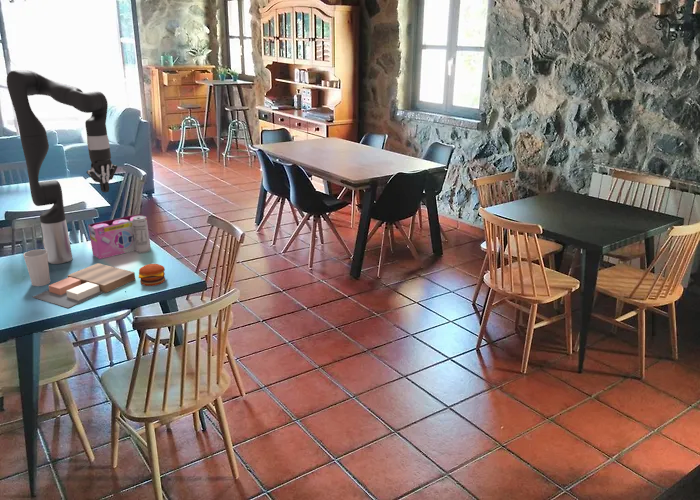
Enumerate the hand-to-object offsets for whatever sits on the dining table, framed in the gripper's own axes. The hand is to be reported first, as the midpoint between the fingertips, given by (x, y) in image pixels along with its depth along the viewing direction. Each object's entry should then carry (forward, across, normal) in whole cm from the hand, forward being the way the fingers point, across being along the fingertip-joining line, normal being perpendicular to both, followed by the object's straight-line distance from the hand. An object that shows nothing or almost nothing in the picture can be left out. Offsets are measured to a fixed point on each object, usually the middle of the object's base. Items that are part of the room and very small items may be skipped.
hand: (105, 191), depth 231 cm
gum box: (+31, -14, -12) cm, 37 cm away
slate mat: (+31, +28, +7) cm, 42 cm away
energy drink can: (+31, -18, -4) cm, 36 cm away
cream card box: (+31, +25, +12) cm, 41 cm away
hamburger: (+31, +4, +24) cm, 40 cm away
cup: (+31, +25, -12) cm, 42 cm away
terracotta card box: (+31, +25, +2) cm, 39 cm away
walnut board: (+31, +13, +7) cm, 34 cm away
